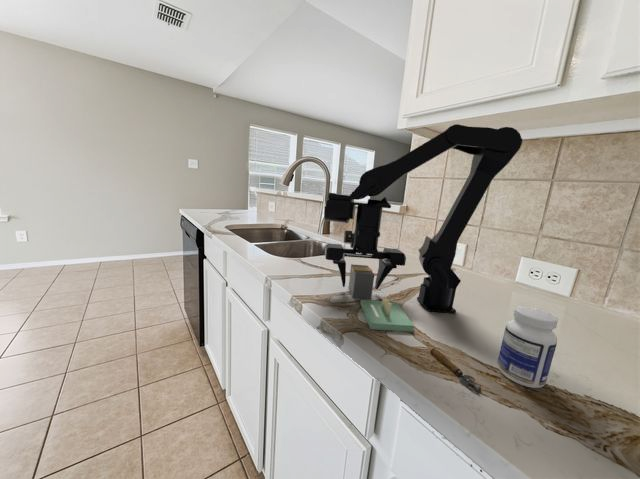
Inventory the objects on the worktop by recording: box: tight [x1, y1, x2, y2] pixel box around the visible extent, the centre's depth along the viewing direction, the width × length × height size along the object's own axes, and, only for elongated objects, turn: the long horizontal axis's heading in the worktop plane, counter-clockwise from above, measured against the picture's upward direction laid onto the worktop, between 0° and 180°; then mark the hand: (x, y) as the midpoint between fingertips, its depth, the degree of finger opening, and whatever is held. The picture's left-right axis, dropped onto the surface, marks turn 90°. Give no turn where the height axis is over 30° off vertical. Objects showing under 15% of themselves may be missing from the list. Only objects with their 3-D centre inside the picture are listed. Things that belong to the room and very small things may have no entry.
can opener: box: [430, 347, 482, 397], centre depth 37 cm, size 9×2×1 cm, turn 13°
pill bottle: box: [496, 305, 559, 389], centre depth 36 cm, size 6×6×10 cm
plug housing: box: [348, 264, 375, 300], centre depth 62 cm, size 7×4×6 cm, turn 2°
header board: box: [360, 295, 415, 333], centre depth 51 cm, size 10×8×4 cm
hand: (359, 287), depth 63 cm, fingers open, 8 cm apart
